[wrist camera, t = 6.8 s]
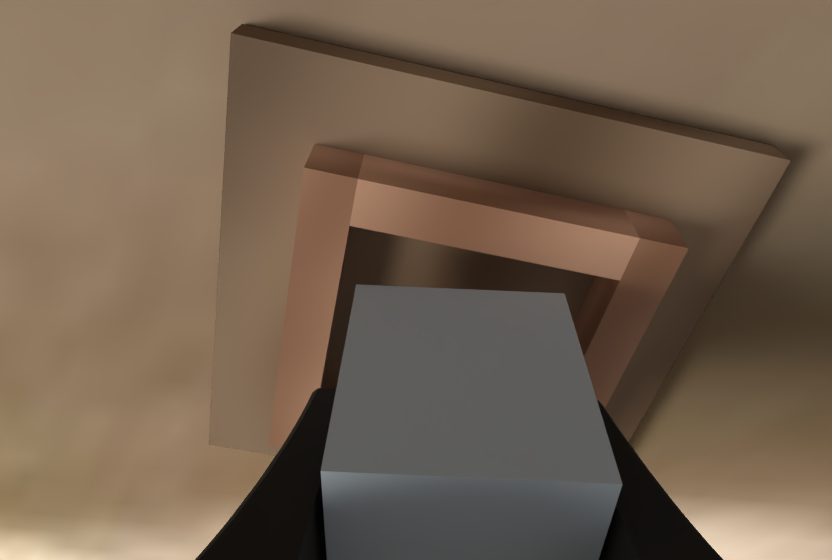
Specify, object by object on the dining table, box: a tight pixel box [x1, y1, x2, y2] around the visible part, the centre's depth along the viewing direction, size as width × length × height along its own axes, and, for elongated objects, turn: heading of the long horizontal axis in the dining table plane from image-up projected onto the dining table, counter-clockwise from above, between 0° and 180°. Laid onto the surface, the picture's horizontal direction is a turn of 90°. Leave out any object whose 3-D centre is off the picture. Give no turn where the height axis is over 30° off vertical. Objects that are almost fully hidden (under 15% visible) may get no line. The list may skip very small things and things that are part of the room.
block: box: [321, 285, 622, 560], centre depth 11 cm, size 4×4×4 cm
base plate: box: [209, 24, 791, 456], centre depth 15 cm, size 11×11×2 cm
